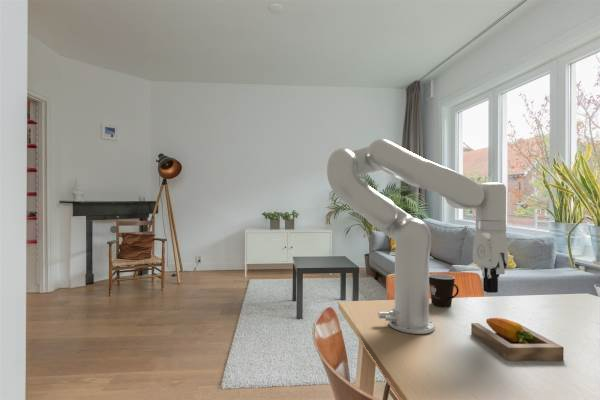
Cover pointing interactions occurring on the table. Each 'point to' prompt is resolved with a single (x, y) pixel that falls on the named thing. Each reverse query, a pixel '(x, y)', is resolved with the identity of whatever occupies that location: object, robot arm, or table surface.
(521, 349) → the rest
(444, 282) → the coffee mug
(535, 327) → the table surface
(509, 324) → the carrot
